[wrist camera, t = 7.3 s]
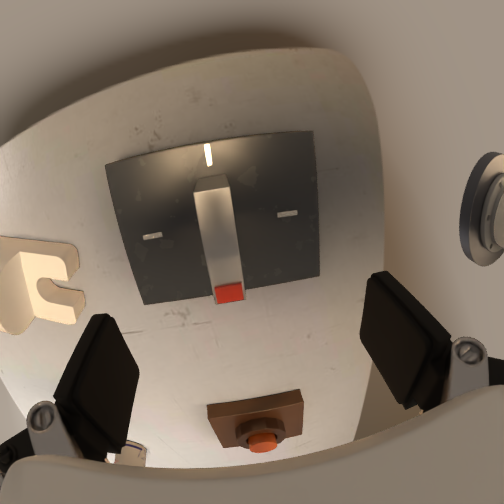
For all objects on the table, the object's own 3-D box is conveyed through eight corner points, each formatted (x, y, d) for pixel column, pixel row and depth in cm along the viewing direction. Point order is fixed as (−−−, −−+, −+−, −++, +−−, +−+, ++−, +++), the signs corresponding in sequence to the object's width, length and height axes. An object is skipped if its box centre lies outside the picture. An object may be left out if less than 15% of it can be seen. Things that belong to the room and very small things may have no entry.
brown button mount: (299, 389, 32) (307, 413, 28) (298, 423, 36) (305, 443, 32) (206, 404, 31) (208, 430, 27) (222, 436, 35) (224, 457, 31)
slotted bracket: (-1, 291, 20) (-36, 330, 13) (-14, 234, 18) (-58, 267, 11) (86, 310, 23) (57, 365, 16) (77, 244, 20) (33, 291, 13)
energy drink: (113, 438, 33) (105, 496, 22) (141, 441, 34) (137, 502, 23) (122, 450, 35) (117, 503, 25) (149, 453, 36) (147, 508, 25)
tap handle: (197, 178, 17) (192, 193, 12) (225, 174, 17) (230, 187, 13) (214, 268, 19) (215, 307, 15) (238, 264, 20) (247, 302, 15)
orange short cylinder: (274, 429, 29) (276, 440, 28) (275, 439, 31) (277, 449, 29) (246, 434, 29) (247, 445, 27) (249, 444, 31) (251, 454, 29)
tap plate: (299, 130, 19) (314, 130, 16) (308, 259, 24) (320, 277, 21) (118, 160, 18) (103, 165, 15) (150, 286, 23) (143, 306, 20)
